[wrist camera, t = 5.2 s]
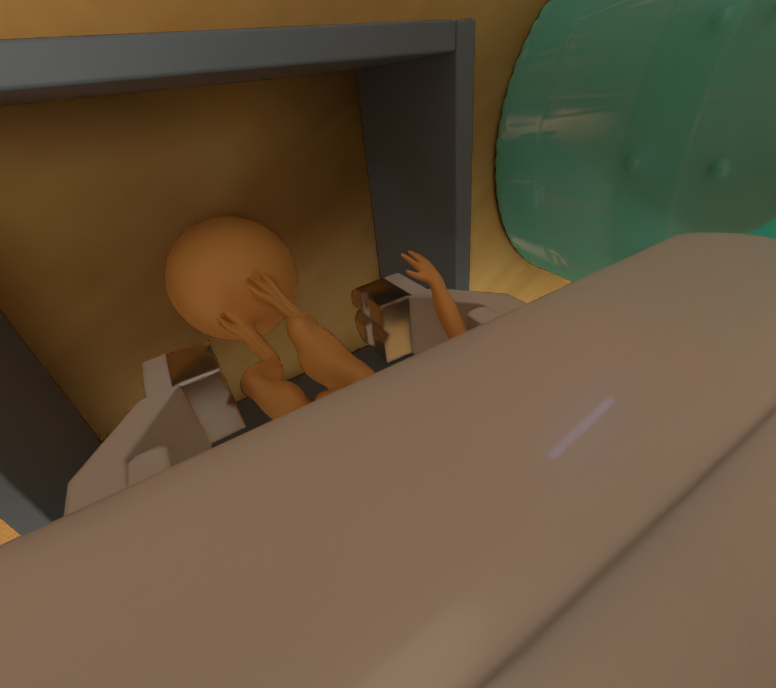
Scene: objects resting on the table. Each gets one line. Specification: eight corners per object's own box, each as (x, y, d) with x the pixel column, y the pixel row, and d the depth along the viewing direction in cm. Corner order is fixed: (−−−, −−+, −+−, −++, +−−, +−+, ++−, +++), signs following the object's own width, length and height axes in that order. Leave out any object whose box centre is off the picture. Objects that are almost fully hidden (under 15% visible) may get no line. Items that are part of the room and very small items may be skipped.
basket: (422, 93, 17) (823, 63, 7) (686, -202, 17) (1377, -585, 8) (538, 325, 30) (735, 421, 20) (687, 153, 30) (945, 169, 21)
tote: (368, 47, 15) (476, 17, 10) (398, 343, 23) (467, 397, 18) (-216, 89, 9) (-544, 62, 4) (101, 474, 16) (98, 602, 12)
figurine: (250, 124, 12) (480, 191, 3) (372, 239, 16) (634, 421, 7) (104, 320, 13) (-46, 810, 4) (252, 385, 17) (346, 712, 8)
